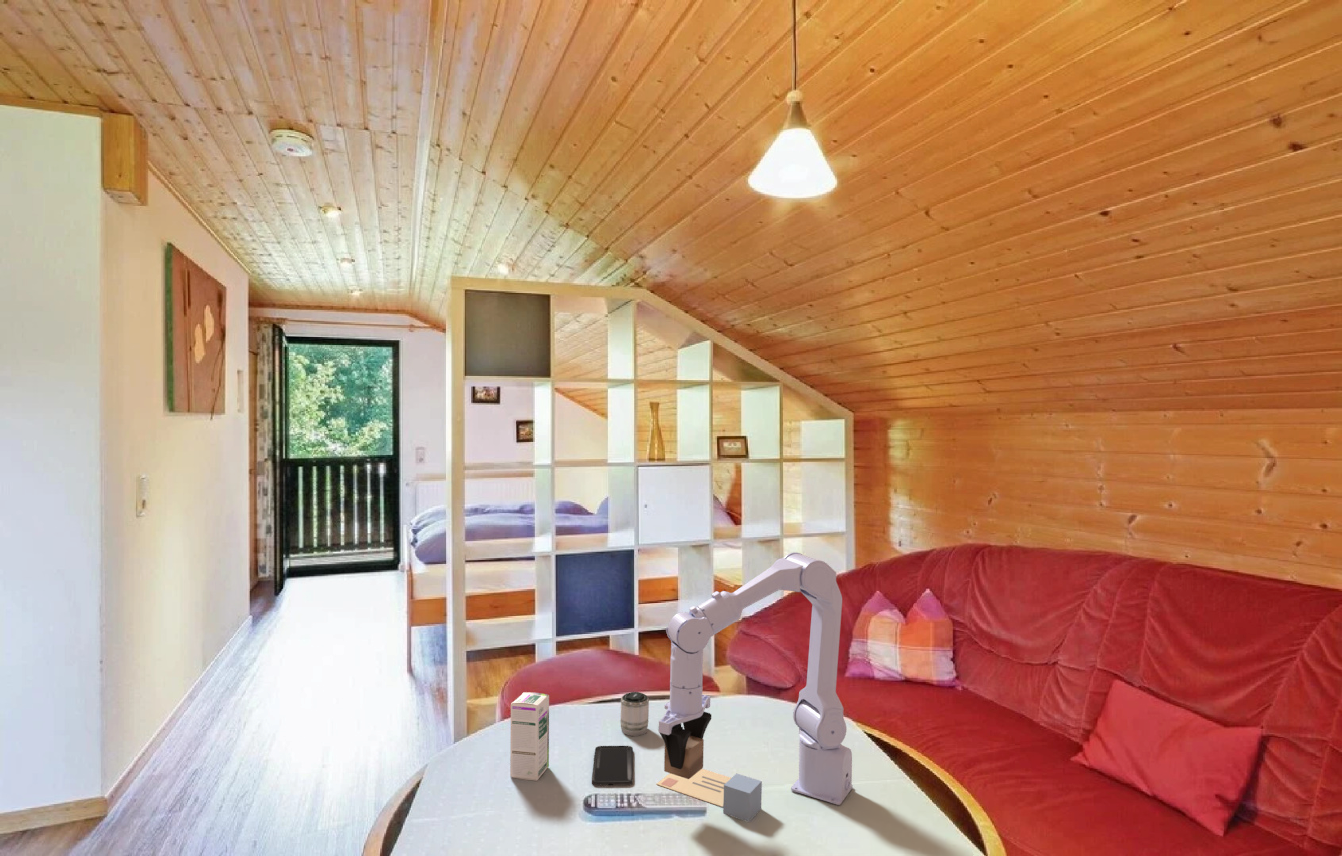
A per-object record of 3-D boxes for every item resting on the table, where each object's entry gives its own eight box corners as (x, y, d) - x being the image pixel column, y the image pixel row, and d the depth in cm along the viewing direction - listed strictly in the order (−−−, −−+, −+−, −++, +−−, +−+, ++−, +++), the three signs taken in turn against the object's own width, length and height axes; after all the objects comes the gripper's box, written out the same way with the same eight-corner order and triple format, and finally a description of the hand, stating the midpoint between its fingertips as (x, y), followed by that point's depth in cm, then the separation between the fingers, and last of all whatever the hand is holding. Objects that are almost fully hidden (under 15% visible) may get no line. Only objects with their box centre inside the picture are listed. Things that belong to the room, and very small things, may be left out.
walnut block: (703, 767, 122) (703, 739, 122) (688, 779, 118) (689, 749, 118) (679, 759, 124) (679, 732, 124) (664, 771, 120) (664, 742, 120)
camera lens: (616, 734, 151) (616, 698, 151) (626, 722, 157) (626, 688, 157) (642, 738, 149) (643, 702, 149) (652, 726, 155) (652, 691, 155)
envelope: (746, 783, 131) (746, 782, 131) (722, 807, 122) (722, 806, 122) (683, 763, 138) (683, 762, 138) (656, 784, 130) (656, 783, 130)
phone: (632, 745, 144) (632, 781, 129) (632, 751, 144) (632, 787, 129) (595, 745, 144) (590, 782, 129) (594, 751, 144) (590, 788, 129)
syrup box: (537, 781, 130) (539, 704, 130) (508, 777, 131) (510, 701, 131) (549, 767, 136) (550, 693, 136) (521, 763, 137) (522, 690, 137)
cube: (761, 809, 122) (761, 781, 122) (749, 822, 118) (749, 793, 118) (735, 800, 125) (736, 773, 125) (723, 813, 121) (723, 785, 121)
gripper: (687, 667, 129) (686, 739, 129) (644, 690, 117) (642, 770, 117) (720, 674, 126) (719, 749, 125) (679, 700, 113) (678, 782, 113)
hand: (684, 760), depth 121 cm, fingers closed on walnut block, 5 cm apart
